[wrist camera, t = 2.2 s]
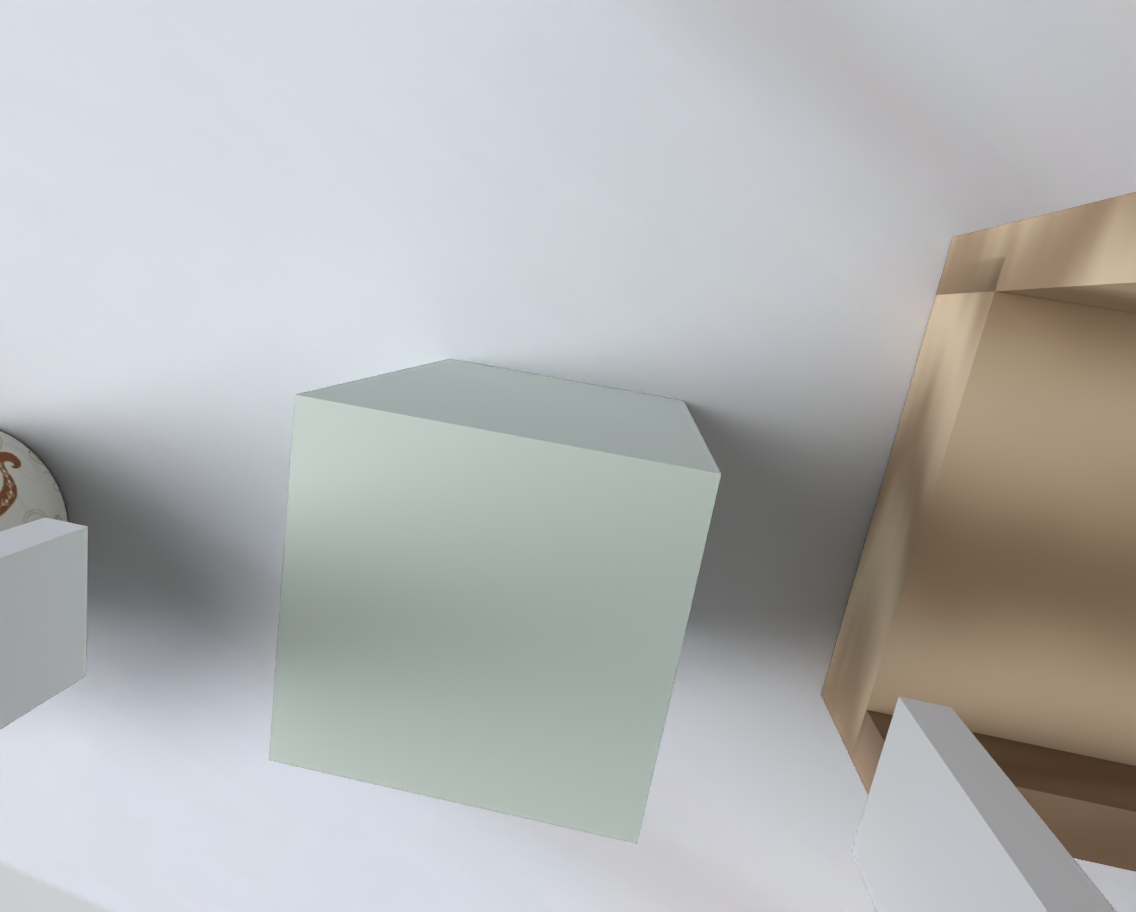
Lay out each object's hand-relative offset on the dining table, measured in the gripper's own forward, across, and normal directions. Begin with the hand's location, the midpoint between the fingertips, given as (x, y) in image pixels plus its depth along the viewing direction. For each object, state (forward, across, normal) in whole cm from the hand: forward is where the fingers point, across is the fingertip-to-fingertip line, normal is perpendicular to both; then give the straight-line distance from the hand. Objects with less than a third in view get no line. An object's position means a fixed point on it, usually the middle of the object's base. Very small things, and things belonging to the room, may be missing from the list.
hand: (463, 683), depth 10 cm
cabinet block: (+10, 0, +1) cm, 10 cm away
